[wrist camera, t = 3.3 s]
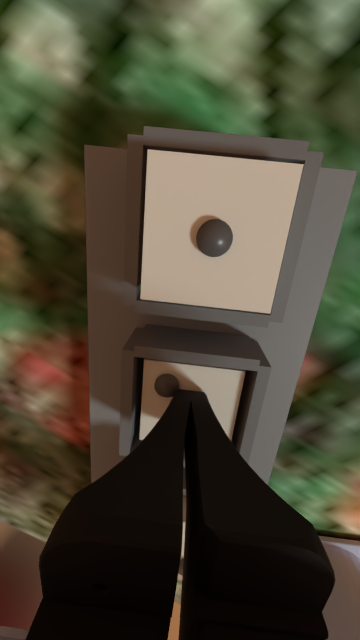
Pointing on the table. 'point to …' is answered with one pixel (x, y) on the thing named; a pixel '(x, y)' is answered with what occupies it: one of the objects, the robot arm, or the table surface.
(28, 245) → the table surface
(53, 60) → the table surface
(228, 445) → the robot arm
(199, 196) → the one pip button
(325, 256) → the button panel
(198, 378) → the three pip button
